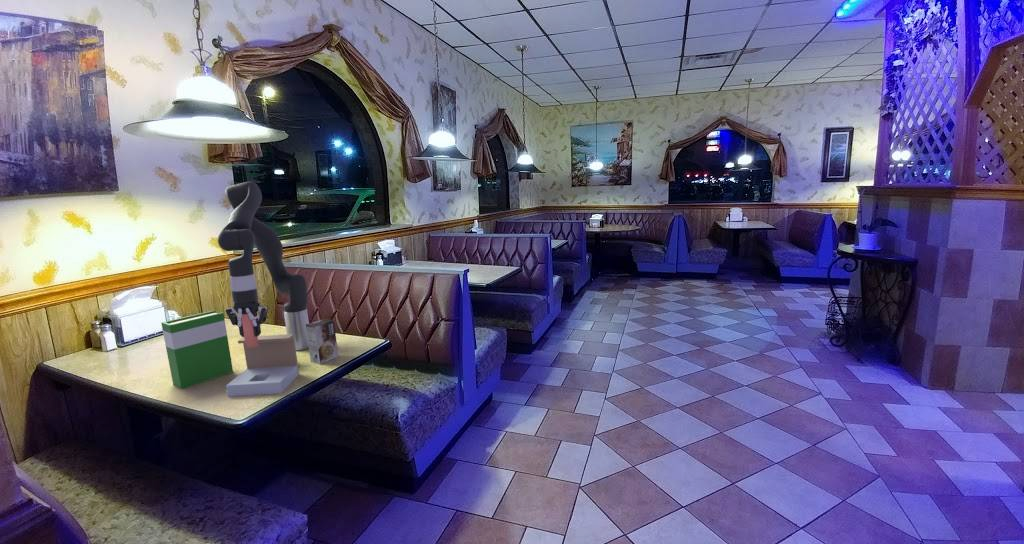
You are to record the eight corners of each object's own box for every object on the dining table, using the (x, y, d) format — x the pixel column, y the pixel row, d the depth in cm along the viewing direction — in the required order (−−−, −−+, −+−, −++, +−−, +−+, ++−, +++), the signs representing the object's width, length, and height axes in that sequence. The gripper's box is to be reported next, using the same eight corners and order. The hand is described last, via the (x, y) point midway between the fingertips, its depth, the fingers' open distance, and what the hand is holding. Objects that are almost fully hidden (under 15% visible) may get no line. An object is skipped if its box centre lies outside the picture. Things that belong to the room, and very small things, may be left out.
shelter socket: (250, 377, 175) (243, 336, 172) (299, 374, 176) (293, 334, 173) (227, 396, 159) (220, 352, 156) (281, 393, 160) (275, 349, 157)
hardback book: (224, 368, 185) (214, 310, 180) (233, 371, 181) (223, 312, 176) (173, 384, 171) (161, 322, 166) (181, 389, 166) (169, 325, 162)
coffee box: (328, 354, 195) (324, 317, 192) (339, 357, 192) (334, 319, 189) (309, 362, 188) (304, 324, 184) (320, 364, 184) (315, 326, 181)
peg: (243, 348, 159) (238, 314, 157) (249, 344, 163) (244, 311, 161) (254, 348, 159) (250, 314, 157) (261, 344, 163) (256, 311, 161)
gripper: (216, 291, 154) (224, 340, 157) (259, 289, 154) (266, 338, 157) (229, 286, 161) (236, 333, 164) (270, 284, 161) (276, 331, 164)
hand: (250, 335), depth 161 cm, fingers closed on peg, 4 cm apart
